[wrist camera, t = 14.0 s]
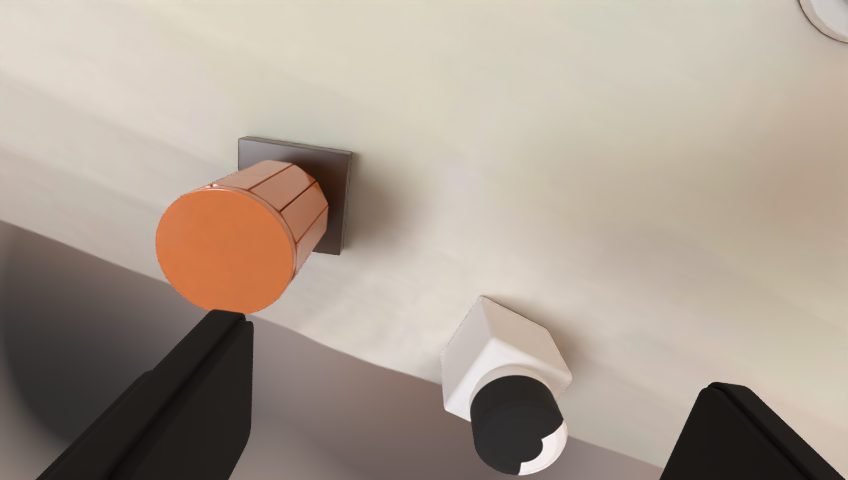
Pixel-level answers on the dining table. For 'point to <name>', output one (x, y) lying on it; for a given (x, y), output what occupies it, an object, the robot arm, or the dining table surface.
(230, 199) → the cup
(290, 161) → the stand
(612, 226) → the dining table surface
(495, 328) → the medicine bottle
